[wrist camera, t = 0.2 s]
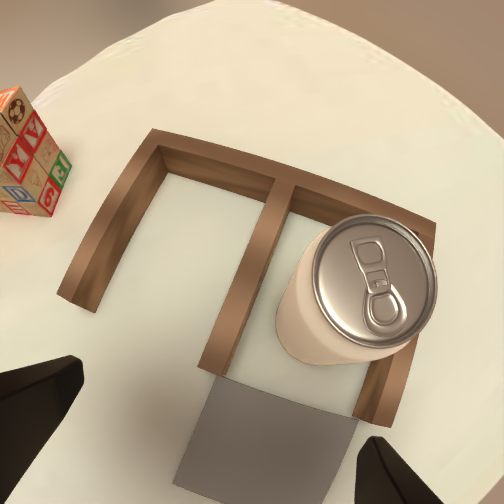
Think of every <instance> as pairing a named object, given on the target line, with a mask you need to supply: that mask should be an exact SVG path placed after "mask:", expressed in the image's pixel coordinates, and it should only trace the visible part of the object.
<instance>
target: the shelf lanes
mask: <svg viewBox="0 0 504 504" xmlns="http://www.w3.org/2000/svg"><path fill="white" fill-rule="evenodd" d="M168 172H169V173H173V174H176V175H179V176H183V177H186V178H189V179H193V180H196V181H199V182H202V183H206V184H209V185H212V186H215V187H218V188H222V189H225V190H228V191H231V192H234V193H237V194H240V195H243V196H246V197H249V198H252V199H255V200H258V201H261V202H264V203H265V205H264V208H263V210H262V212H261V215H260V217H259V219H258V222H257V224H256V227H255V229H254V231H253V234H252V236H251V239H250V241H249V243H248V246H247V248H246V250H245V253H244V255H243V258H242V260H241V262H240V265H239V267H238V270H237V272H236V274H235V277H234V279H233V282H232V284H231V286H230V289H229V291H228V294H227V296H226V298H225V301H224V303H223V306H222V308H221V311H220V313H219V315H218V318H217V320H216V323H215V325H214V327H213V330H212V332H211V335H210V337H209V340H208V342H207V344H206V347H205V349H204V352H203V354H202V357H201V359H200V361H199V364H198V366H197V367H199V368H201V369H204V370H206V371H208V372H211V373H213V374H216V375H218V376H223V375H225V374H226V372H227V370H228V367H229V365H230V362H231V360H232V357H233V355H234V352H235V350H236V347H237V345H238V342H239V340H240V337H241V335H242V332H243V330H244V327H245V325H246V322H247V320H248V317H249V314H250V312H251V309H252V307H253V304H254V302H255V299H256V297H257V294H258V291H259V289H260V286H261V284H262V281H263V279H264V276H265V273H266V271H267V268H268V266H269V263H270V260H271V258H272V255H273V253H274V250H275V247H276V245H277V242H278V239H279V237H280V234H281V231H282V229H283V226H284V224H285V221H286V218H287V216H288V213H289V211H291V212H293V213H296V214H299V215H302V216H305V217H308V218H310V219H313V220H316V221H319V222H322V223H324V224H327V225H330V226H334V225H335V224H336V223H338V222H340V221H341V220H343V219H345V218H348V217H350V216H354V215H358V214H379V215H384V216H387V217H390V218H393V219H395V220H397V221H399V222H401V223H402V224H404V225H405V226H407V227H408V228H409V229H411V230H412V231H413V232H414V233H415V234H416V235H417V236H418V237H419V238H420V240H421V241H422V242H423V244H424V245H425V247H426V248H427V250H428V252H429V254H430V256H431V258H433V250H434V241H435V231H436V223H435V222H433V221H431V220H429V219H426V218H424V217H422V216H420V215H417V214H415V213H413V212H411V211H408V210H406V209H404V208H401V207H399V206H396V205H394V204H392V203H389V202H387V201H384V200H382V199H379V198H377V197H374V196H372V195H369V194H367V193H364V192H362V191H359V190H356V189H354V188H351V187H349V186H346V185H343V184H341V183H338V182H335V181H332V180H330V179H327V178H324V177H321V176H318V175H315V174H312V173H310V172H307V171H304V170H301V169H298V168H295V167H292V166H289V165H286V164H282V163H279V162H276V161H273V160H270V159H267V158H263V157H260V156H257V155H253V154H250V153H247V152H243V151H240V150H236V149H233V148H229V147H225V146H222V145H218V144H214V143H211V142H207V141H203V140H199V139H195V138H191V137H187V136H183V135H179V134H175V133H170V132H166V131H162V130H157V129H153V128H152V130H151V131H150V132H149V134H148V135H147V137H146V138H145V139H144V141H143V142H142V144H141V145H140V147H139V148H138V149H137V151H136V152H135V154H134V155H133V157H132V158H131V160H130V161H129V163H128V164H127V166H126V167H125V169H124V170H123V172H122V173H121V175H120V177H119V178H118V180H117V181H116V183H115V184H114V186H113V188H112V189H111V191H110V193H109V194H108V196H107V198H106V199H105V201H104V203H103V204H102V206H101V208H100V209H99V211H98V213H97V215H96V216H95V218H94V220H93V222H92V223H91V225H90V227H89V229H88V231H87V233H86V234H85V236H84V238H83V240H82V242H81V244H80V246H79V248H78V250H77V252H76V254H75V256H74V258H73V260H72V262H71V264H70V266H69V268H68V270H67V272H66V274H65V276H64V278H63V280H62V283H61V285H60V287H59V289H58V291H57V294H58V295H59V296H61V297H62V298H64V299H66V300H67V301H69V302H71V303H73V304H75V305H77V306H80V307H82V308H84V309H86V310H89V311H91V312H93V313H95V312H96V310H97V307H98V305H99V303H100V301H101V298H102V296H103V294H104V292H105V290H106V287H107V285H108V283H109V281H110V279H111V277H112V275H113V273H114V271H115V269H116V266H117V264H118V262H119V260H120V258H121V256H122V254H123V252H124V250H125V249H126V247H127V245H128V243H129V241H130V239H131V237H132V235H133V233H134V231H135V229H136V228H137V226H138V224H139V222H140V220H141V218H142V216H143V215H144V213H145V211H146V209H147V207H148V206H149V204H150V202H151V200H152V199H153V197H154V195H155V193H156V192H157V190H158V188H159V187H160V185H161V183H162V182H163V180H164V178H165V176H166V175H167V173H168ZM418 336H419V334H417V335H416V336H415V337H414V338H413V339H411V341H410V342H409V343H408V344H407V345H405V346H404V347H403V348H402V349H400V350H399V351H397V352H396V353H394V354H392V355H390V356H387V357H385V358H382V359H378V360H373V361H371V362H370V366H369V369H368V372H367V375H366V378H365V381H364V384H363V387H362V390H361V393H360V396H359V399H358V401H357V404H356V407H355V410H354V412H353V415H352V416H354V417H356V418H359V419H361V420H363V421H366V422H368V423H371V424H375V425H379V426H384V427H389V428H391V426H392V423H393V421H394V418H395V415H396V412H397V409H398V406H399V403H400V400H401V397H402V394H403V391H404V388H405V385H406V381H407V378H408V374H409V371H410V367H411V364H412V360H413V356H414V352H415V348H416V344H417V340H418Z"/></svg>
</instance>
